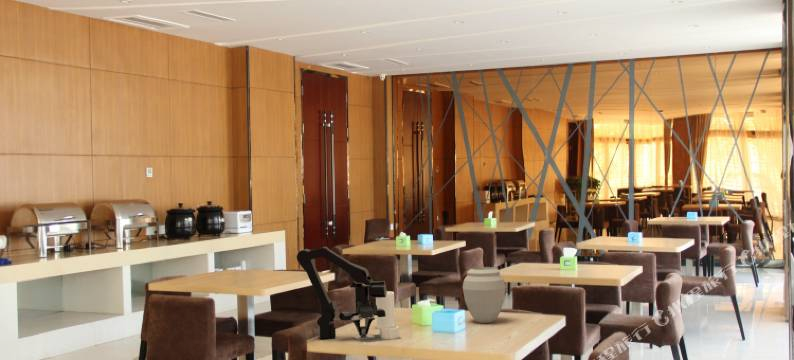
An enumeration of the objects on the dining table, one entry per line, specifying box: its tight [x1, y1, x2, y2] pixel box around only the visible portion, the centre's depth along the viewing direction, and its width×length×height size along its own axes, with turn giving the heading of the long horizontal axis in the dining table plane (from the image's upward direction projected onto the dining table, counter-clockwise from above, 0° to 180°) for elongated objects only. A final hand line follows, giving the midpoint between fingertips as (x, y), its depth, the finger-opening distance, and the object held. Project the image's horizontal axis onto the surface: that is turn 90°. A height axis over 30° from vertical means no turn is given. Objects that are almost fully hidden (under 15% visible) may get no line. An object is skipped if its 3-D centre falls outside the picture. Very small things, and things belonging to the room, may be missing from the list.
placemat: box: [358, 333, 402, 343], centre depth 337 cm, size 17×14×1 cm
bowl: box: [379, 325, 400, 341], centre depth 336 cm, size 8×8×4 cm
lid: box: [351, 325, 375, 341], centre depth 339 cm, size 8×8×5 cm
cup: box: [375, 290, 396, 330], centre depth 361 cm, size 8×8×16 cm
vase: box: [462, 266, 507, 324], centre depth 368 cm, size 20×20×24 cm
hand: (363, 335), depth 339 cm, fingers closed on lid, 2 cm apart
